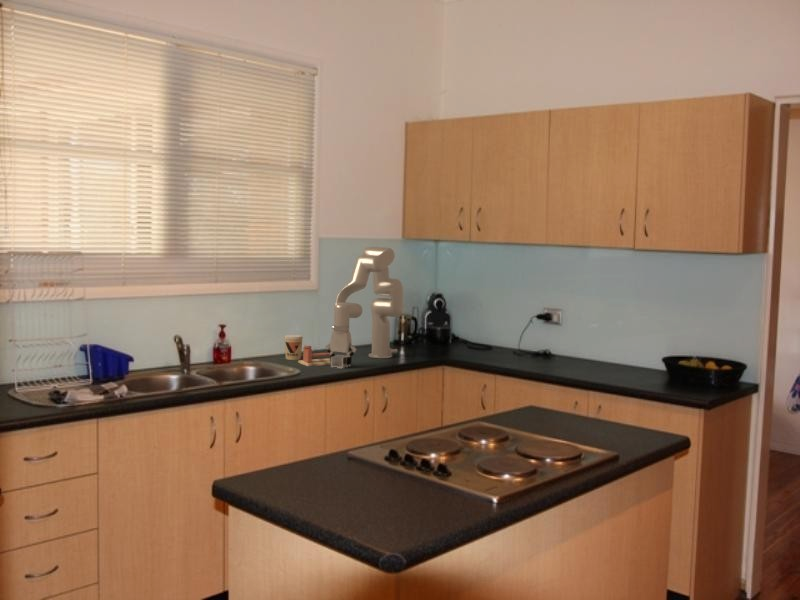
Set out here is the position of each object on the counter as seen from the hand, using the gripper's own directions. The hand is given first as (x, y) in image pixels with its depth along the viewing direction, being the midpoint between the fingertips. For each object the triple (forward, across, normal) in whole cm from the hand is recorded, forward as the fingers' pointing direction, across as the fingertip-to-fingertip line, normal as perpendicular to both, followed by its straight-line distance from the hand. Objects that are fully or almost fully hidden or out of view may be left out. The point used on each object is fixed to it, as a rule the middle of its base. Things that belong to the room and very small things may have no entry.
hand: (340, 363), depth 412 cm
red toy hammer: (0, -14, +1) cm, 14 cm away
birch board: (+1, -12, +4) cm, 13 cm away
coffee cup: (+2, -32, +6) cm, 32 cm away
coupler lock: (+2, 0, 0) cm, 2 cm away
